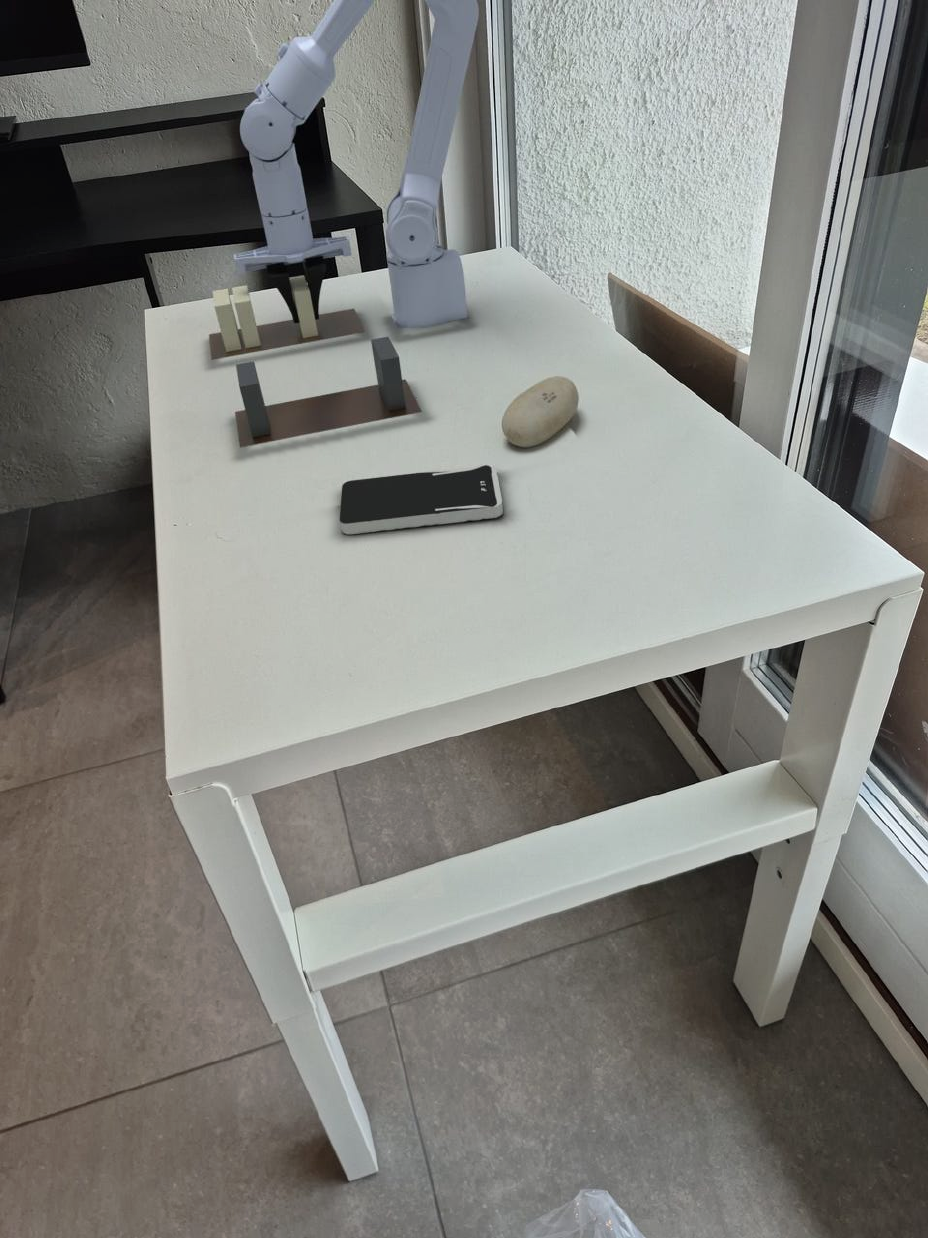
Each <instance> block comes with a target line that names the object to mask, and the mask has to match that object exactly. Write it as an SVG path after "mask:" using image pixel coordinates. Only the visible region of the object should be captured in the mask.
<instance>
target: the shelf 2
mask: <svg viewBox="0 0 928 1238" xmlns="http://www.w3.org/2000/svg"><path fill="white" fill-rule="evenodd" d="M402 382H403V389H404V396H405V404H406V408H404V409H399V410H394V411H388V409H387V407H386V404H385V402H384V400H383V398H382V395H381V393H380V391H379V388H378V384H374V385H368V386H363V387H357V388H352V389H347V390H342V391H337V392H332V393H326V394H321V395H316V396H310V397H306V398H300V399H295V400H289V401H285V402H279V403H274V404H269V405H265V408H266V412H267V417H268V422H269V427H270V432H271V435H266V436H261V437H256V438H252V434H251V430H250V426H249V422H248V419H247V415H246V411H245V409H242V410H238V411H234V415H235V423H236V431H237V438H238V444H239V449H240V448H241V449H242V448H247V447H251V446H256V445H261V444H267V443H272V442H277V441H282V440H286V439H292V438H297V437H303V436H307V435H312V434H318V433H323V432H328V431H332V430H337V429H342V428H348V427H352V426H358V425H364V424H367V423H373V422H377V421H383V420H389V419H394V418H399V417H403V416H409V415H413V414H418V413H423V411H422V408H421V407H420V404H419V402H418V401H417V399H416V397H415V395H414V393H413V391H412V389H411V387H410V385H409V383H408V381H407V379H405V378H404V379H402Z"/></svg>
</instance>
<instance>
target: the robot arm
mask: <svg viewBox="0 0 928 1238" xmlns="http://www.w3.org/2000/svg"><path fill="white" fill-rule="evenodd" d="M375 1H376V0H333V1H332V3H331V5H330V6H329V8H328V9H327V11H326V12H325V14H324V16H323V17H322V19H321V20H320V22H319V24H318V25H317V27H316V29H314V31H313V33H312V34H311V35H308V36H296V37H293V38H292V40H291V42H290V43H289V44H288V43H286V42H283V43H282V45H281V46H280V48H279V49H278V51H277V55H278V56H279V59H278V61H277V63H276V64H275V65H274V67H273V69H272V70H271V71H270V74H269V75H268V77H267V79H265V81H264V82H263V84H262V83H260V82H259V83H258V84H257V85H256V87H255V88H254V90H253V92H254V94H255V95H256V96H257V97H258V98H255V99H254V100H253V101H252V102H250V104H249V105H248V106H247V107H246V108H245V109H244V111H243V115H242V116H241V120H240V123H239V134H240V139H241V142H242V144H243V146H244V148H245V149H246V150H247V151H248V153H249V161H250V164H251V167H252V179H253V184H254V189H255V193H256V197H257V202H258V206H259V207H258V208H259V212H260V215H261V220H262V225H263V230H264V235H265V239H266V244H267V245H266V246H263V247H259V248H256V249H253V250H249V251H244V252H239V253H234V254H233V259H234V263H235V267H236V272H237V275H244V274H246V273H247V272H253V271H258V270H264V269H266V272H267V275H268V277H269V279H270V281H271V282H272V284H273V285H274V287H275V288H276V289H277V291H278V292H279V294H280V295H281V297H282V298H283V300H284V302H285V304H286V306H287V308H288V311H289V312H290V314H291V318H292V319H293V321H294V323H299V318H298V313H297V310H296V307H295V303H294V300H293V295H292V289H291V284H290V279H289V278H290V275H289V272H288V267H287V265H293V264H300V263H302V264H303V265H302V266H303V269H304V274H305V275H304V276H305V280H306V282H307V285H308V287H309V290H310V295H311V300H312V306H313V311H314V316H315V320H318V319H319V315H320V312H319V310H320V309H319V307H320V296H321V289H322V284H323V281H324V277H325V275H326V267H327V266H326V263H325V259H328V258H334V257H346V258H347V257H350V256H353V255H352V249H351V241H350V239H349V237H348V235H342V236H335V237H320V238H314V236H313V231H312V225H311V219H310V214H309V209H308V204H307V198H306V193H305V187H304V182H303V176H302V171H301V167H300V165H299V163H298V158H297V153H296V147H295V143H294V142H293V139H294V137H295V135H296V130H297V126H301V125H303V124H305V122H306V121H307V119H308V118H309V116H310V115H311V114H312V112H313V111H314V109H315V108H316V106H317V105H318V104H319V102H320V101H321V99H322V98H323V96H324V95H325V93H326V92H327V90H328V89H329V87H330V86H331V85H332V84H333V83H334V81H335V79H336V77H337V76H336V67H335V56H336V54H337V53H338V52H339V51H340V49H341V48H342V47H343V45H344V43H345V42H346V41H347V39H348V38H349V37H350V35H351V34H352V33H353V31H354V30H356V29H355V28H356V27H357V26H358V25H359V23H360V22H361V20H362V19H363V18H364V16H365V15H366V14H367V13H368V11H369V10H370V8H371V7H372V5H374V3H375ZM424 2H425V4H426V6H427V7H428V10H429V11H430V12H431V15H432V16H433V18H434V23H433V27H432V32H431V33H432V34H431V37H430V38H431V39H430V42H429V47H428V52H427V57H426V61H425V67H424V68H425V69H424V71H423V75H422V76H423V77H422V82H421V85H420V86H421V87H420V90H419V97H418V102H417V106H416V111H415V116H414V121H413V125H412V130H411V136H410V140H409V145H408V149H407V155H406V159H405V165H404V169H403V171H402V175H401V179H400V184H399V187H398V190H397V192H396V194H395V195H394V196H393V198H392V199H391V200H390V201H389V203H388V206H387V209H386V224H387V227H386V231H385V241H386V244H387V248H388V251H387V252H386V254H385V255H386V256H385V257H386V263H387V270H388V277H389V284H390V291H391V298H392V307H393V313H391V314H390V316H391V318H392V320H393V322H394V324H395V325H396V327H397V329H399V330H400V329H404V328H405V329H406V328H410V329H421V328H429V327H433V326H436V325H437V326H438V325H439V324H442V323H447V322H452V321H457V320H463V319H467V318H468V307H467V296H466V282H465V274H464V267H463V264H462V259H461V257H460V254H459V252H458V250H457V249H453V248H452V249H443V246H442V244H439V242H438V240H439V234H438V227H437V224H436V218H437V217H436V215H437V210H438V205H439V199H440V198H439V197H440V190H441V183H442V178H443V174H444V170H445V166H446V160H447V157H448V153H449V147H450V143H451V139H452V135H453V130H454V126H455V122H456V117H457V113H458V109H459V104H460V101H461V100H460V99H461V96H462V91H463V87H464V83H465V78H466V74H467V71H468V66H469V61H470V57H471V54H472V53H471V52H472V48H473V44H474V39H475V36H476V31H477V26H478V21H479V14H480V8H479V3H478V0H424Z"/></svg>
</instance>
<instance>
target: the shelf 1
mask: <svg viewBox="0 0 928 1238" xmlns="http://www.w3.org/2000/svg"><path fill="white" fill-rule="evenodd" d="M315 321H316V326H317V331H318V336H313V337H307V338H303V336H302V333H301V330H300V327H299V324H298V323H294V321H293V318H292V319H288V320H281V321H277V322H270V323H265V324H260V325H257V329H258V334H259V338H260V343H261V346H257V347H252V348H245V344H244V340H243V335H242V331H241V328H238V331H239V336H240V341H241V347H242V349H241V350H236V351H230V352H226V349H225V345H224V341H223V337H222V333H221V331H220V332H215V333H209V334H208V341H209V349H210V350H209V351H210V359H211V361H215V360H219V359H224V358H231V357H237V356H240V355H246V354H247V355H248V354H251V353H257V352H258V353H259V352H263V351H269V350H275V349H279V348H285V347H291V346H297V345H301V344H306V343H311V342H318V341H323V340H329V339H333V338H339V337H345V336H350V335H356V334H361V333H366V331H365V329H364V326H363V324H362V322H361V320H360V317H359V316H358V314H357V311H356V309H355V308H349V309H344V310H343V309H342V310H338V311H332V312H326V313H321V314H320V313H319V319H318V320H315Z"/></svg>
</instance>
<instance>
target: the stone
mask: <svg viewBox="0 0 928 1238" xmlns="http://www.w3.org/2000/svg"><path fill="white" fill-rule="evenodd" d="M579 396H580V395H579V392H578V389H577V386H576V385H575V383H574V381H572V379H570V378H568V377H565V376H562V375H561V376H560V375H556V376H555V375H554V376H551V377H548V378H545V379H543V380H541V381H538V382H537V383H535V384H534V385H532V386H531V387H529V388H526V390H524V391H523V392H521V393H519V394H518V395H517V396H516V398H514V399H513V400H512V401H511V403H509V405H508V406H507V408H506V410H505V411H504V413H503V416H502V419H501V429H502V433H503V435H504V437H505V438H506V440H507V441H508V442H510V443H511V444H512V445H515V446H516V447H518V448H523V449H524V448H525V449H527V448H533V447H537V446H539V445H541V444H543V443H545V442H547V441H548V440H549V439H551V438H553V437H554V436H555V435H556V434H557V433H559V432H560V431H561V430H563V428H564V427H565V426H566V425H567V424H568V423H569V422H570V420H571V419H572V418H573V416H574V414H575V413H576V411H577V409H578V406H579V399H580V397H579Z"/></svg>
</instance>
